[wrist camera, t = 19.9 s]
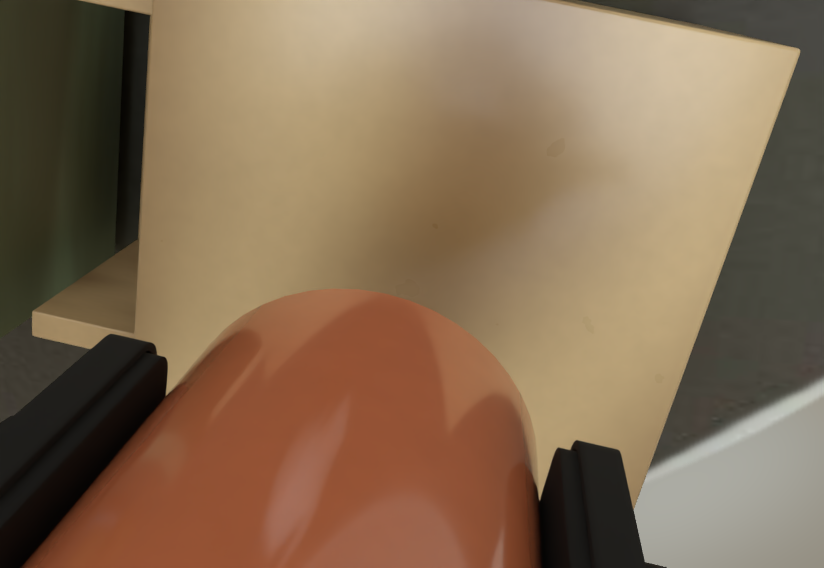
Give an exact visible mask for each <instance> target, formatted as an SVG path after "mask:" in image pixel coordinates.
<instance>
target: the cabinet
mask: <svg viewBox="0 0 824 568" xmlns="http://www.w3.org/2000/svg"><path fill="white" fill-rule="evenodd" d="M799 55H800V50H799V49H798V48H795V47H791V46H786V45H782V44H778V43H774V42H769V41H765V40H761V39H757V38H752V37H748V36H744V35H740V34H735V33H731V32H727V31H723V30H718V29H714V28H710V27H706V26H701V25H697V24H692V23H688V22H683V21H678V20H673V19H668V18H663V17H658V16H653V15H648V14H643V13H638V12H633V11H628V10H623V9H618V8H613V7H608V6H603V5H598V4H593V3H588V2H584V1H579V0H152V16H151V34H150V53H149V71H148V90H147V109H146V127H145V146H144V164H143V183H142V201H141V220H140V238H139V257H138V275H137V294H136V312H135V331H134V339H138V340H142V341H147V342H151V343H153V344H154V345H155V346H156V350H157V355H159V356H163V357H165V358H166V359H167V362H168V374H167V388H166V395H167V394H168V393H169V392H170V391H171V390H172V388H173V387H174V386H175V385H176V384H177V382H178V381H179V380H180V379H181V378H182V377H183V375H184V374H185V373H186V372H187V371H188V369H189V368H190V367H191V366H192V365H193V363H194V362H195V361H196V360H197V359H198V358H199V356H200V355H201V354H202V353H203V352H204V350H205V349H206V348H207V347H208V346H209V345H210V343H211V342H212V341H213V340H214V339H215V338H216V337H217V336H218V335H219V334H220V333H221V332H222V331H223V330H224V329H225V328H226V327H228V326H229V325H230V324H232V323H233V322H234V321H236V320H237V319H238V318H240V317H241V316H242V315H244V314H246V313H248V312H250V311H251V310H253V309H255V308H257V307H259V306H261V305H263V304H265V303H268V302H270V301H273V300H276V299H278V298H281V297H284V296H287V295H292V294H296V293H301V292H305V291H311V290H322V289H333V288H336V289H361V290H367V291H373V292H379V293H385V294H389V295H392V296H396V297H399V298H403V299H406V300H410V301H412V302H415V303H417V304H419V305H422V306H424V307H427V308H429V309H431V310H434V311H435V312H437V313H439V314H441V315H442V316H444V317H446V318H448V319H449V320H451V321H453V322H455V323H456V324H458V325H459V326H460V327H462V328H463V329H464V330H466V331H467V332H468V333H470V334H471V335H472V336H474V337H475V338H476V339H477V340H478V341H479V342H480V343H481V344H483V345H484V346H485V347H486V348H487V349H488V350H489V351H490V352H491V353H492V354H493V355H494V356H495V357H496V359H497V360H498V361H499V362H500V364H501V365H502V366H503V367H504V369H505V370H506V371H507V372H508V374H509V375H510V377H511V378H512V380H513V382H514V383H515V385H516V387H517V388H518V390H519V392H520V393H521V395H522V398H523V400H524V402H525V405H526V407H527V410H528V412H529V414H530V418H531V421H532V425H533V429H534V433H535V437H536V447H537V458H538V480H539V501H540V498H541V495H542V491H543V488H544V485H545V482H546V478H547V475H548V472H549V469H550V465H551V462H552V459H553V456H554V453H555V451H556V449H557V448H558V447H559V448H564V449H568V450H570V449H571V447H572V445H573V443H574V442H575V441H576V440H579V441H583V442H588V443H592V444H596V445H601V446H605V447H609V448H614V449H618V450H620V453H621V456H622V460H623V465H624V469H625V474H626V478H627V483H628V488H629V492H630V497H631V501H632V506H633V510H634V507H635V505H636V502H637V499H638V496H639V493H640V491H641V488H642V485H643V483H644V480H645V477H646V474H647V472H648V469H649V466H650V463H651V461H652V458H653V455H654V452H655V450H656V447H657V444H658V442H659V439H660V436H661V433H662V431H663V428H664V425H665V422H666V420H667V417H668V414H669V411H670V409H671V406H672V403H673V400H674V398H675V395H676V392H677V389H678V387H679V384H680V381H681V378H682V376H683V373H684V370H685V367H686V365H687V362H688V359H689V357H690V354H691V351H692V348H693V346H694V343H695V340H696V337H697V335H698V332H699V329H700V326H701V324H702V321H703V318H704V315H705V313H706V310H707V307H708V304H709V302H710V299H711V296H712V293H713V291H714V288H715V285H716V283H717V280H718V277H719V274H720V272H721V269H722V266H723V263H724V261H725V258H726V255H727V252H728V250H729V247H730V244H731V241H732V239H733V236H734V233H735V230H736V228H737V225H738V222H739V219H740V217H741V214H742V211H743V208H744V206H745V203H746V200H747V198H748V195H749V192H750V189H751V187H752V184H753V181H754V178H755V176H756V173H757V170H758V167H759V165H760V162H761V159H762V156H763V154H764V151H765V148H766V145H767V143H768V140H769V137H770V134H771V132H772V129H773V126H774V123H775V121H776V118H777V115H778V113H779V110H780V107H781V104H782V102H783V99H784V96H785V93H786V91H787V88H788V85H789V82H790V80H791V77H792V74H793V71H794V69H795V66H796V63H797V60H798V58H799Z"/></svg>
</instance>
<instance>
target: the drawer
mask: <svg viewBox="0 0 824 568" xmlns="http://www.w3.org/2000/svg"><path fill="white" fill-rule="evenodd" d="M125 10H127V11H132V12H137V13H142V14H146V15H150V24H149V43H148V62H147V81H146V99H145V118H144V137H143V156H142V175H141V193H140V212H139V231H138V240H136V241H134V242H133V243H131V244H130V245H128V246H127V247H125V248H124V249H122V250H121V251H120V252H118V253H117V254H115V234H116V209H117V185H118V161H119V137H120V113H121V88H122V64H123V40H124V16H125ZM151 16H152V0H0V338H2V337H3V336H4V335H6V334H7V333H9V332H10V331H12V330H13V329H15V328H16V327H17V326H19V325H20V324H22V323H23V322H25V321H26V320H27V319H29V318H30V317H32V335H33V336H36V337H40V338H44V339H49V340H53V341H57V342H62V343H66V344H71V345H75V346H79V347H84V348H88V349H92V348H93V347H94V346H95V345H96V344H97V343H99V342H100V341H101V340H102V339H103V338H104V337H106V336H107V335H109V334H116V335H121V336H125V337H129V338H134V331H135V312H136V294H137V275H138V257H139V238H140V220H141V201H142V183H143V164H144V146H145V127H146V109H147V90H148V71H149V53H150V34H151Z"/></svg>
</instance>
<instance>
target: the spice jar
mask: <svg viewBox="0 0 824 568" xmlns="http://www.w3.org/2000/svg"><path fill="white" fill-rule="evenodd" d="M21 568H542V550H541V526H540V503H539V480H538V458H537V447H536V437H535V433H534V429H533V425H532V421H531V418H530V414H529V412H528V410H527V407H526V405H525V402H524V400H523V398H522V395H521V393H520V392H519V390H518V388H517V387H516V385H515V383H514V382H513V380H512V378H511V377H510V375H509V374H508V372H507V371H506V370H505V369H504V367H503V366H502V365H501V364H500V362H499V361H498V360H497V359H496V357H495V356H494V355H493V354H492V353H491V352H490V351H489V350H488V349H487V348H486V347H485V346H484V345H483V344H481V343H480V342H479V341H478V340H477V339H476V338H475V337H474V336H472V335H471V334H470V333H468V332H467V331H466V330H464V329H463V328H462V327H460V326H459V325H458V324H456V323H455V322H453V321H451V320H449V319H448V318H446V317H444V316H442V315H441V314H439V313H437V312H435V311H434V310H431V309H429V308H427V307H424V306H422V305H419V304H417V303H415V302H412V301H410V300H406V299H403V298H399V297H396V296H392V295H389V294H385V293H379V292H373V291H367V290H361V289H336V288H333V289H322V290H311V291H305V292H301V293H296V294H292V295H287V296H284V297H281V298H278V299H276V300H273V301H270V302H268V303H265V304H263V305H261V306H259V307H257V308H255V309H253V310H251V311H250V312H248V313H246V314H244V315H242V316H241V317H240V318H238V319H237V320H236V321H234V322H233V323H232V324H230V325H229V326H228V327H226V328H225V329H224V330H223V331H222V332H221V333H220V334H219V335H218V336H217V337H216V338H215V339H214V340H213V341H212V342H211V343H210V345H209V346H208V347H207V348H206V349H205V350H204V352H203V353H202V354H201V355H200V356H199V358H198V359H197V360H196V361H195V362H194V363H193V365H192V366H191V367H190V368H189V369H188V371H187V372H186V373H185V374H184V375H183V377H182V378H181V379H180V380H179V381H178V382H177V384H176V385H175V386H174V387H173V388H172V390H171V391H170V392H169V393H168V394H167V395H166V397H165V398H164V399H163V400H162V401H161V403H160V404H159V405H158V406H157V407H156V409H155V410H154V411H153V412H152V413H151V414H150V416H149V417H148V418H147V419H146V420H145V422H144V423H143V424H142V425H141V426H140V428H139V429H138V430H137V431H136V432H135V433H134V435H133V436H132V437H131V438H130V439H129V441H128V442H127V443H126V444H125V445H124V446H123V448H122V449H121V450H120V451H119V452H118V454H117V455H116V456H115V457H114V458H113V460H112V461H111V462H110V463H109V464H108V465H107V467H106V468H105V469H104V470H103V471H102V473H101V474H100V475H99V476H98V477H97V478H96V480H95V481H94V482H93V483H92V484H91V486H90V487H89V488H88V489H87V490H86V492H85V493H84V494H83V495H82V496H81V497H80V499H79V500H78V501H77V502H76V503H75V505H74V506H73V507H72V508H71V509H70V510H69V512H68V513H67V514H66V515H65V516H64V518H63V519H62V520H61V521H60V522H59V524H58V525H57V526H56V527H55V528H54V529H53V531H52V532H51V533H50V534H49V535H48V537H47V538H46V539H45V540H44V541H43V543H42V544H41V545H40V546H39V547H38V548H37V550H36V551H35V552H34V553H33V554H32V556H31V557H30V558H29V559H28V560H27V561H26V563H25V564H24V565H23V566H22V567H21Z"/></svg>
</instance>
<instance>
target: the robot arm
mask: <svg viewBox="0 0 824 568" xmlns="http://www.w3.org/2000/svg"><path fill="white" fill-rule="evenodd" d="M167 374H168V362H167V359H166V358H165V357H163V356H159V355H157V350H156V346H155V345H154V344H153V343H151V342H147V341H142V340H138V339H134V338H129V337H125V336H121V335H116V334H109V335H107V336H106V337H104V338H103V339H102V340H101V341H100V342H99V343H97V344H96V345H95V346H94V347H93V348H92V349H90V350H89V351H88V352H87V353H86V354H85V355H84V356H82V357H81V358H80V359H79V360H78V361H77V362H75V363H74V364H73V365H72V366H71V367H70V368H69V369H67V370H66V371H65V372H64V373H63V374H62V375H60V376H59V377H58V378H57V379H56V380H55V381H54V382H52V383H51V384H50V385H49V386H48V387H47V388H45V389H44V390H43V391H42V392H41V393H40V394H39V395H37V396H36V397H35V398H34V399H33V400H32V401H31V402H29V403H28V404H27V405H26V406H25V407H24V408H22V409H21V410H20V411H19V412H18V413H17V414H16V415H14V416H10V417H9V418H7V419H6V420H4V421H3V422H1V423H0V568H21V567H22V566H23V565H24V564H25V563H26V561H27V560H28V559H29V558H30V557H31V556H32V554H33V553H34V552H35V551H36V550H37V548H38V547H39V546H40V545H41V544H42V543H43V541H44V540H45V539H46V538H47V537H48V535H49V534H50V533H51V532H52V531H53V529H54V528H55V527H56V526H57V525H58V524H59V522H60V521H61V520H62V519H63V518H64V516H65V515H66V514H67V513H68V512H69V510H70V509H71V508H72V507H73V506H74V505H75V503H76V502H77V501H78V500H79V499H80V497H81V496H82V495H83V494H84V493H85V492H86V490H87V489H88V488H89V487H90V486H91V484H92V483H93V482H94V481H95V480H96V478H97V477H98V476H99V475H100V474H101V473H102V471H103V470H104V469H105V468H106V467H107V465H108V464H109V463H110V462H111V461H112V460H113V458H114V457H115V456H116V455H117V454H118V452H119V451H120V450H121V449H122V448H123V446H124V445H125V444H126V443H127V442H128V441H129V439H130V438H131V437H132V436H133V435H134V433H135V432H136V431H137V430H138V429H139V428H140V426H141V425H142V424H143V423H144V422H145V420H146V419H147V418H148V417H149V416H150V414H151V413H152V412H153V411H154V410H155V409H156V407H157V406H158V405H159V404H160V403H161V401H162V400H163V399H164V398H165V397H166V388H167ZM539 503H540V526H541V550H542V568H666V567H663V566H659V565H654V564H650V563H646V562H644V556H643V552H642V547H641V543H640V538H639V534H638V529H637V524H636V520H635V515H634V511H633V506H632V501H631V497H630V492H629V488H628V483H627V478H626V474H625V469H624V465H623V460H622V456H621V453H620V450H618V449H614V448H609V447H605V446H601V445H596V444H592V443H588V442H583V441H579V440H576V441H575V442H574V443H573V445H572V447H571V449H570V450H568V449H564V448H559V447H558V448H557V449H556V451H555V453H554V456H553V459H552V462H551V465H550V469H549V472H548V475H547V478H546V482H545V485H544V488H543V491H542V495H541V498H540V501H539Z"/></svg>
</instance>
